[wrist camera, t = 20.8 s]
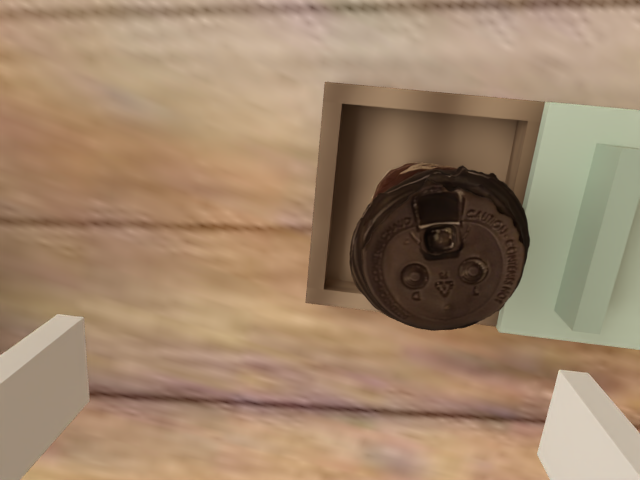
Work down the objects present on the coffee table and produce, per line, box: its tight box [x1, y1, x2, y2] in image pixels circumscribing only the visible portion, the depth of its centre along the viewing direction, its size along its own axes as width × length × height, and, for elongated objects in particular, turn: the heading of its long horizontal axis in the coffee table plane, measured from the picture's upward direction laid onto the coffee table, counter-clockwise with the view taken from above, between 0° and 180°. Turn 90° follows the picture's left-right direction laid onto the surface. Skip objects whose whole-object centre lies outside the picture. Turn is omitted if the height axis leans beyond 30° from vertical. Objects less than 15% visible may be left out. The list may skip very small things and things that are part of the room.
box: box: [306, 82, 545, 326], centre depth 33 cm, size 14×15×3 cm
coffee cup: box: [349, 163, 530, 330], centre depth 27 cm, size 9×8×13 cm
